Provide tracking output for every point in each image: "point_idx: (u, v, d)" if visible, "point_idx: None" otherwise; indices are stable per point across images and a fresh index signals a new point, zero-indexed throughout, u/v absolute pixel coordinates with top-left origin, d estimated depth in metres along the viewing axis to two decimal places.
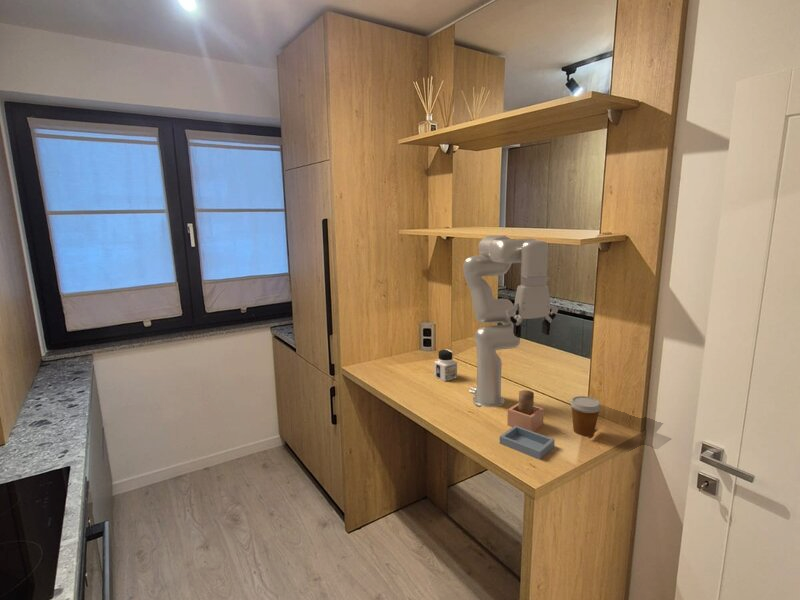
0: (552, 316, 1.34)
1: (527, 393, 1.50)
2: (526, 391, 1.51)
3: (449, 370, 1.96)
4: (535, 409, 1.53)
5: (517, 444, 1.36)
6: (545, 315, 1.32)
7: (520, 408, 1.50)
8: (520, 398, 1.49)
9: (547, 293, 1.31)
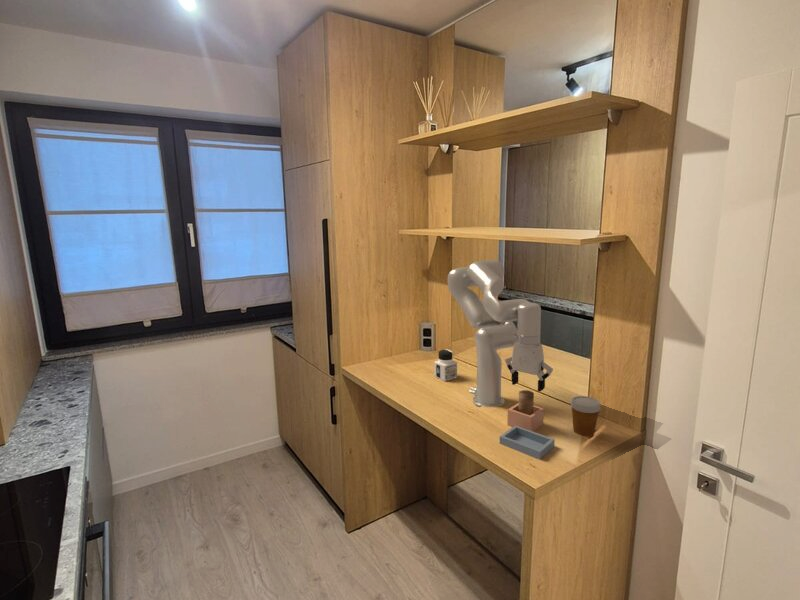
0: None
1: (527, 393, 1.50)
2: (526, 391, 1.51)
3: (449, 370, 1.96)
4: (535, 409, 1.53)
5: (517, 444, 1.36)
6: None
7: (520, 408, 1.50)
8: (520, 398, 1.49)
9: None
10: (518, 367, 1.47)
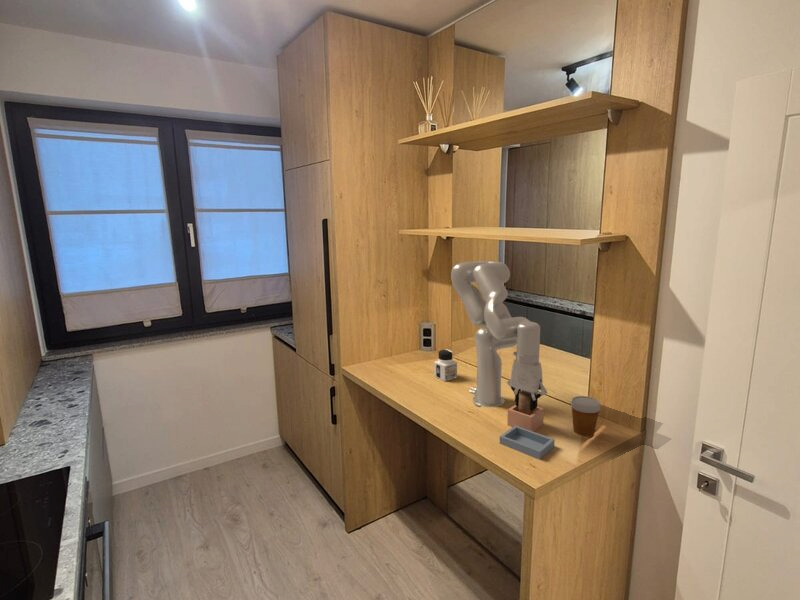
0: None
1: (527, 393, 1.50)
2: None
3: (449, 370, 1.96)
4: (535, 409, 1.53)
5: (517, 444, 1.36)
6: None
7: (520, 408, 1.50)
8: (520, 398, 1.49)
9: None
10: (517, 385, 1.49)
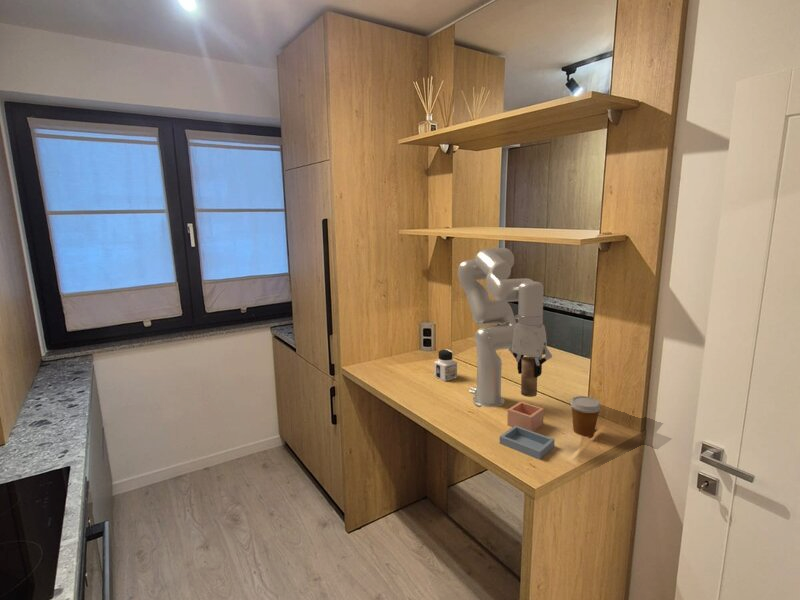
0: None
1: (531, 359, 1.40)
2: (529, 357, 1.41)
3: (449, 370, 1.96)
4: (535, 409, 1.53)
5: (517, 444, 1.36)
6: None
7: (523, 375, 1.40)
8: (523, 364, 1.39)
9: None
10: (519, 350, 1.39)
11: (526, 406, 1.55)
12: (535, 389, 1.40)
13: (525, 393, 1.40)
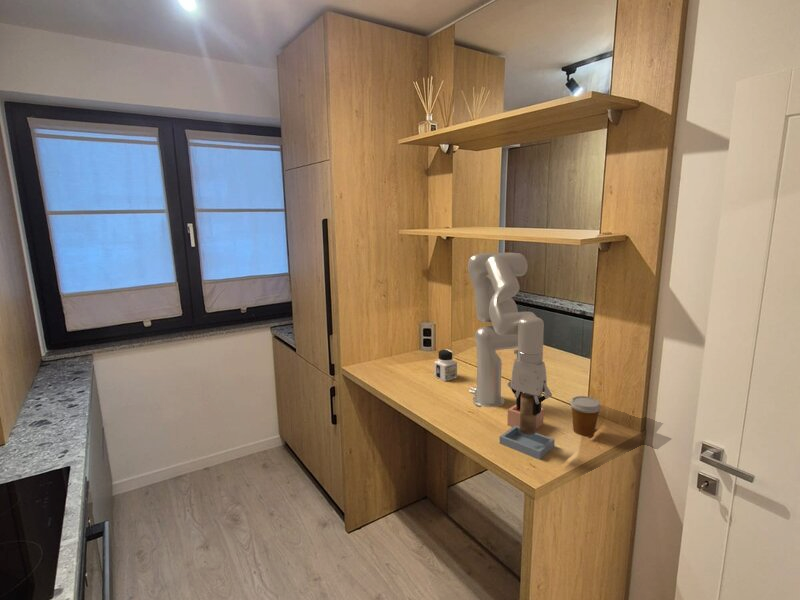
0: None
1: (530, 396, 1.35)
2: (528, 394, 1.37)
3: (449, 370, 1.96)
4: None
5: (517, 444, 1.36)
6: None
7: (522, 412, 1.35)
8: (522, 401, 1.35)
9: None
10: (518, 387, 1.35)
11: None
12: (534, 427, 1.35)
13: (524, 431, 1.36)
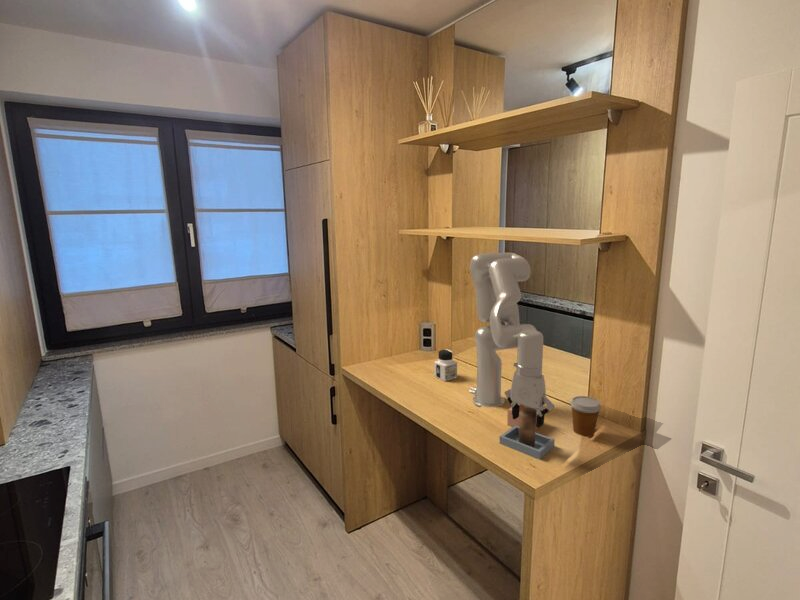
0: None
1: (530, 410, 1.37)
2: (528, 408, 1.38)
3: (449, 370, 1.96)
4: None
5: (517, 444, 1.36)
6: None
7: (521, 426, 1.37)
8: (521, 415, 1.36)
9: None
10: (517, 399, 1.36)
11: (526, 406, 1.55)
12: (533, 441, 1.37)
13: None
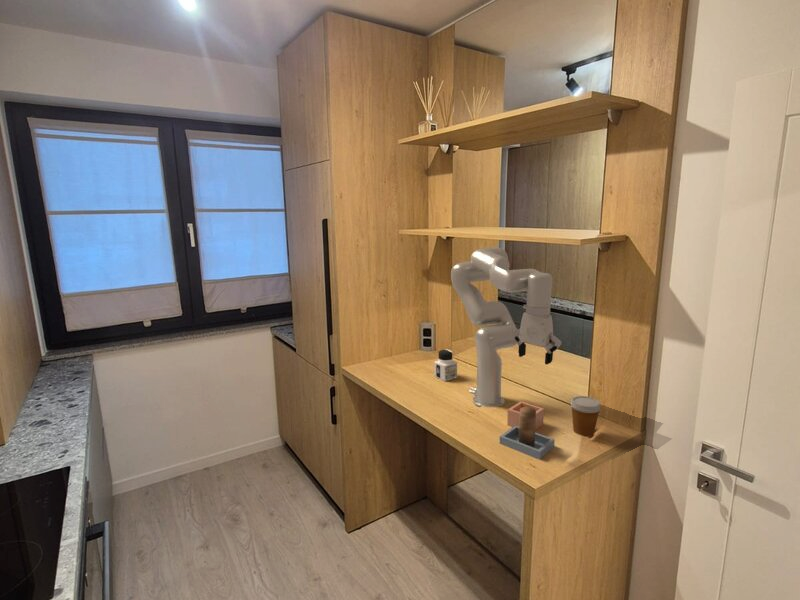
0: None
1: (529, 410, 1.37)
2: (527, 408, 1.38)
3: (449, 370, 1.96)
4: (535, 409, 1.53)
5: (517, 444, 1.36)
6: None
7: (521, 427, 1.37)
8: (521, 416, 1.36)
9: None
10: (526, 339, 1.43)
11: (526, 406, 1.55)
12: (533, 441, 1.37)
13: None
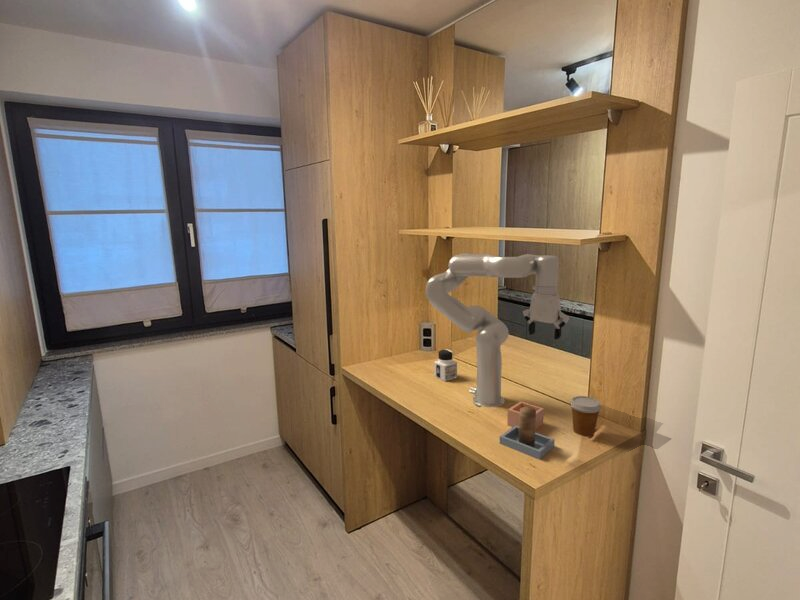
0: None
1: (529, 410, 1.37)
2: (527, 408, 1.38)
3: (449, 370, 1.96)
4: (535, 409, 1.53)
5: (517, 444, 1.36)
6: None
7: (521, 427, 1.37)
8: (521, 416, 1.36)
9: None
10: (536, 317, 1.55)
11: (526, 406, 1.55)
12: (533, 441, 1.37)
13: None
